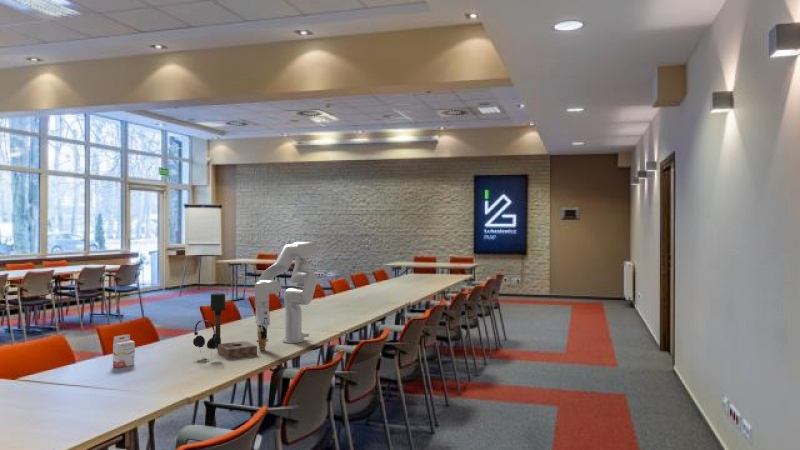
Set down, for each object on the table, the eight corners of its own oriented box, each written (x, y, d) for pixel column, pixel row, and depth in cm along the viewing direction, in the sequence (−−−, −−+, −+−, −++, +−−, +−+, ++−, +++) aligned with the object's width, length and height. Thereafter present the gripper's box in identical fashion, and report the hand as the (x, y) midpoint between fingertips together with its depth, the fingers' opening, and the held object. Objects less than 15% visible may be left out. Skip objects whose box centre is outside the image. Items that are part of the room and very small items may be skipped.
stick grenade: (228, 345, 326) (228, 293, 326) (222, 348, 317) (222, 295, 317) (213, 345, 327) (214, 293, 327) (207, 348, 318) (207, 294, 318)
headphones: (182, 360, 290) (182, 321, 290) (199, 356, 300) (200, 318, 300) (204, 363, 283) (204, 323, 283) (221, 359, 293) (221, 320, 293)
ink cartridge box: (118, 368, 274) (118, 337, 274) (112, 366, 277) (112, 336, 277) (135, 364, 281) (135, 334, 281) (129, 363, 284) (129, 333, 284)
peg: (265, 347, 317) (265, 325, 317) (270, 350, 312) (269, 326, 312) (254, 349, 314) (254, 326, 314) (258, 351, 309) (258, 328, 308)
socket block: (246, 349, 315) (246, 340, 315) (257, 355, 302) (257, 345, 302) (217, 353, 306) (217, 344, 306) (227, 359, 293) (227, 349, 293)
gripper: (274, 305, 308) (274, 339, 308) (262, 302, 322) (263, 334, 322) (261, 307, 304) (261, 341, 304) (249, 303, 318) (250, 335, 318)
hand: (262, 337), depth 313 cm, fingers closed on peg, 4 cm apart
